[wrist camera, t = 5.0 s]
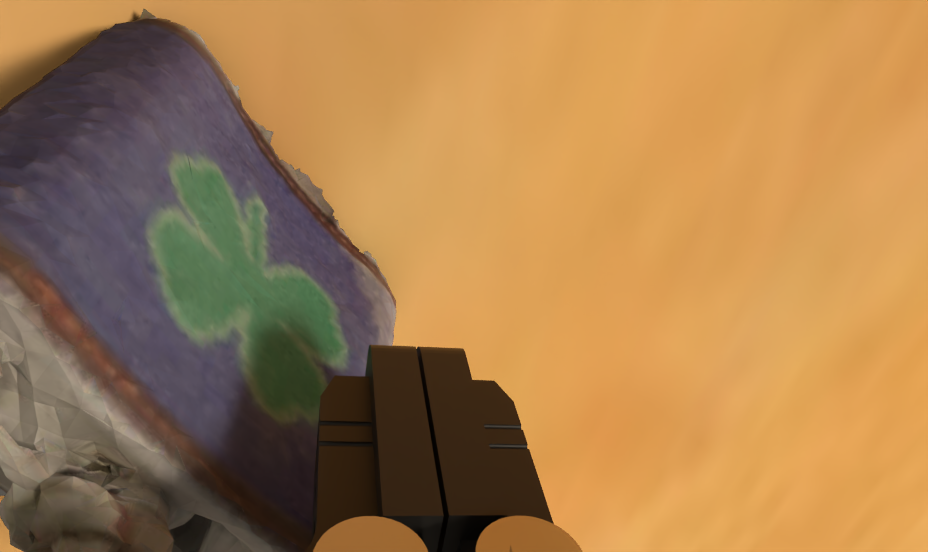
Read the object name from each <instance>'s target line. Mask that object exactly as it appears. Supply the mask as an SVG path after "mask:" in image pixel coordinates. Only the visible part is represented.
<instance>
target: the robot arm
mask: <svg viewBox="0 0 928 552" xmlns="http://www.w3.org/2000/svg"><path fill="white" fill-rule="evenodd" d="M305 552H582V550H581V548H580V547H579V545H578V544H577V543H576V541H575V540H574V539H573V538H572V537H571V536H570V535H569V534H568V533H566V532H565V531H564V530H562V529H561V528H560V527H558V526H556V525H554V523H553V521H552V518H551V515H550V512H549V509H548V506H547V502H546V499H545V496H544V493H543V490H542V487H541V484H540V481H539V478H538V475H537V472H536V469H535V466H534V463H533V460H532V457H531V454H530V451H529V449H527V441H526V438H525V435H524V432H523V430H521V423H520V420H519V417H518V414H517V411H516V408H515V405H514V402H513V401H512V399H511V398H510V397H509V396H508V395H507V394H506V393H505V392H504V391H503V390H502V389H501V388H500V386H499V385H498V384H497V383H496V382H495V381H486V380H472V377H471V373H470V369H469V366H468V362H467V358H466V354H465V351H464V349H460V348H437V347H417V349H416V347H411V346H388V345H369V348H368V354H367V363H366V372H365V376H338V375H335V376H334V377H333V379H332V380H331V382H330V383H329V385H328V386H327V387H326V389H325V390H324V392H323V393H322V395H321V396H320V409H319V421H318V434H317V447H316V460H315V474H314V502H313V529H312V542H311V543H310V545H309V547H308V549H307V550H306V551H305Z"/></svg>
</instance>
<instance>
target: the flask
mask: <svg viewBox="0 0 928 552" xmlns="http://www.w3.org/2000/svg"><path fill="white" fill-rule="evenodd" d="M238 90H239V86H234V85H233V84H232V82H231V80H229V79H228V77H227V75H226V74H225V73H224V72H223V70H222V68H221V65H220V63H219V62H218V61H217V60H216V59H215V57H214V56H213V55H212V53H211V52H210V51H209V49H208V48H207V45H205V42H204V40H203V39H202V38H201V36H200V35H199V34H197V33H196V32H194V31H192V30H189V29H188V28H186V27H185V26H182V25H179V24H177V23H173V22H170V20H167V19H159V18H156V17H155V16H153V15H152V14H151V13H149V12H148V11H147V10H145V9H143V12H142V15H141V18H139V19H137V20H135V21H133V22H126V23H120V24H115V25H114V26H113V27H112V28H110V29H108V30H105V31H102V32H101V33H100V35H99V36H98V37H97V39H95V40H93V41H91V42H90V43H88V44H87V45H85V46H84V47H82V48H81V49H80V50H79V51H78V52H77V53H76V54H74V55H73V56H72V57H70V58H69V59H68V60H67V61H66V62H65V63H63V64H62V65H60V66H59V67H57V68H56V69H54V70H53V71H51V72H50V73H48V74H47V75H45V76H44V77H43V79H42V80H41V81H39V82H38V83H36V84H35V85H34V86H32V87H31V88H29V89H27V90H26V91H24V92H23V93H21V94H20V95H18V96H17V97H15V98H13V99H12V100H11V101H10V102H9V103H8V104H7V105H5V106H4V107H3V108H2V109H1V110H0V488H1V489H2V490H3V491H4V492H5V493H7V494H6V495H5V497H4V498H3V500H2V501H1V502H0V517H1V519H2V521H3V522H4V524H5V526H6V527H7V528H8V530H9V534H10V544H11V545H12V546H14V547H16V548H18V549H20V550H22V551H24V552H305V551H306V550H307V549H308V547H309V545H310V543H311V542H312V529H313V502H314V474H315V460H316V447H317V434H318V421H319V409H320V396H321V395H322V393H323V392H324V390H325V389H326V387H327V386H328V385H329V383H330V382H331V380H332V379H333V377H334V376H335V375H338V376H365V372H366V363H367V354H368V348H369V345H388V346H392V344H393V338H394V334H393V331H394V325H395V319H396V300H395V298H394V297H393V295H392V292H391V290H390V288H389V286H388V284H387V281H386V278H385V277H384V276H383V274H382V273H381V272H380V270H379V267H378V265H377V262H376V260H375V259H374V258H372V257H371V254H370V253H369V252H368V251H365V252H364V254H363V253H361V252H359V249H358V248H357V247H355V246H354V245H353V244H352V242H351V241H350V239H349V237H348V236H347V235H346V234H345V232H344V231H343V229H341V228H339V223H338V220H336V219H334V216H332V214H333V212H334V210H333V209H332V208H331V206H330V205H329V204H328V203H327V202H326V201H325V200H324V198H323V196H322V189H319V188H317V187H316V186H315V185H313V184H312V182H311V180H310V178H309V177H308V175H306V174H304V173H302V172H300V168H299V169H297V170H295V171H294V168H293V166H292V165H289V164H287V163H286V162H284V161H283V160H279V158H278V156H277V154H275V152H274V149H273V148H272V146H271V145H270V142H271V137H272V135H273V132H272V131H268V130H266V129H265V128H264V127H263V126H261V125H259V124H258V123H257V122H255V121H254V120H252V119H251V118H250V117H249V115H248V114H247V113H246V111H245V110H244V109H243V107H242V104H241V100H240V97H239V95H238V92H237V91H238Z"/></svg>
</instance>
